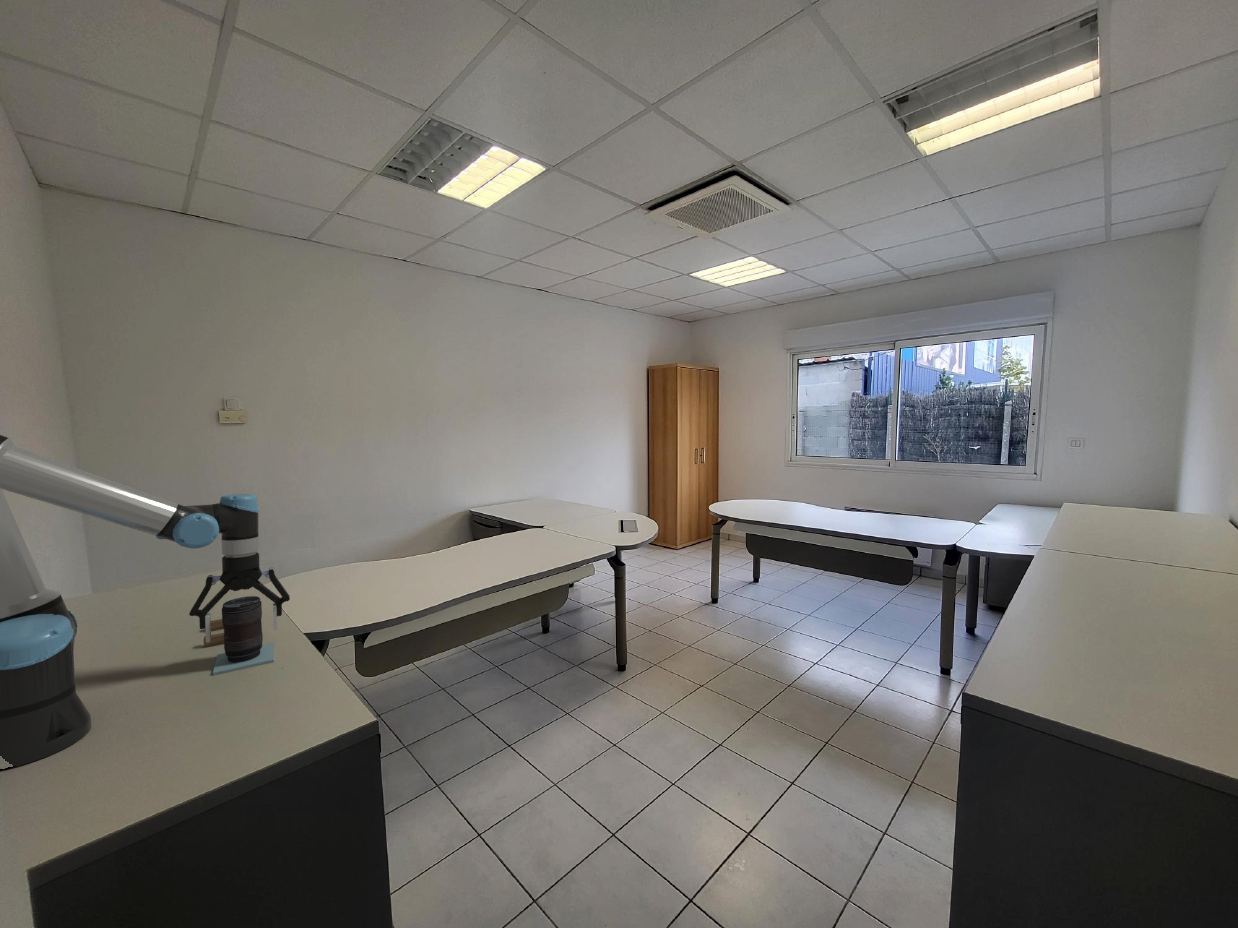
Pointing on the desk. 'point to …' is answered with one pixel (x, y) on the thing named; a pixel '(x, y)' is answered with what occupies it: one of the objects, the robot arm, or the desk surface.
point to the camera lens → (242, 628)
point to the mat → (225, 666)
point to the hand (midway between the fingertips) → (242, 634)
